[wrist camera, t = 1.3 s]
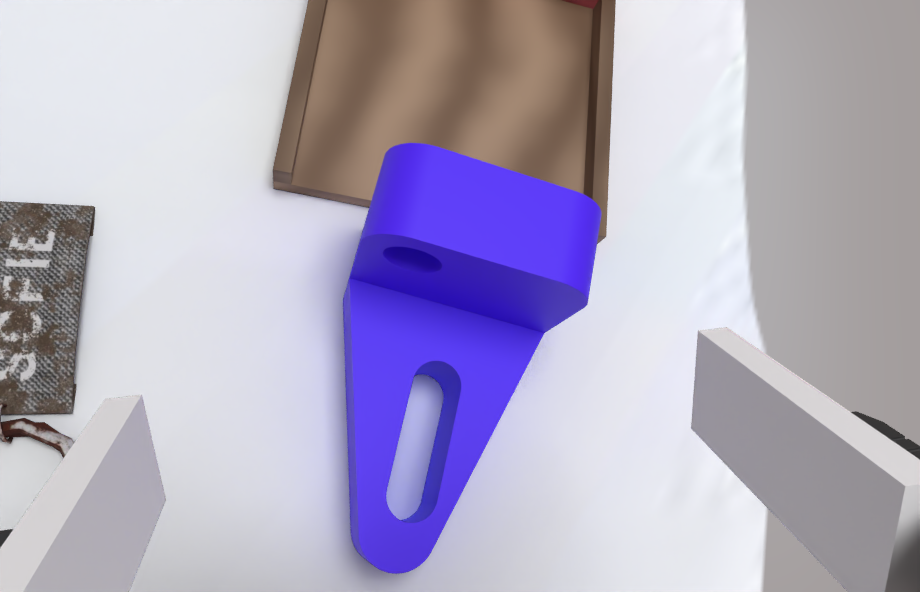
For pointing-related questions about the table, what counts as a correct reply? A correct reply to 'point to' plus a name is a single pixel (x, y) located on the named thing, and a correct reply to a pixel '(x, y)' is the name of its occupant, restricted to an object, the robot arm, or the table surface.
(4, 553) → the robot arm
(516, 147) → the walnut stop track
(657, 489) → the table surface
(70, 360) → the keychain
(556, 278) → the bracket
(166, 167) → the table surface
